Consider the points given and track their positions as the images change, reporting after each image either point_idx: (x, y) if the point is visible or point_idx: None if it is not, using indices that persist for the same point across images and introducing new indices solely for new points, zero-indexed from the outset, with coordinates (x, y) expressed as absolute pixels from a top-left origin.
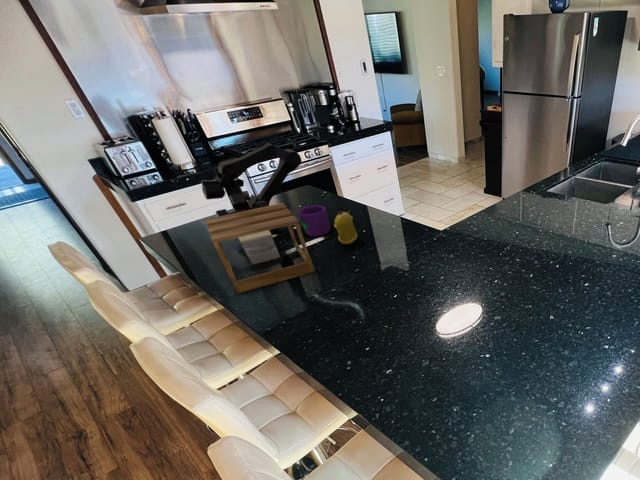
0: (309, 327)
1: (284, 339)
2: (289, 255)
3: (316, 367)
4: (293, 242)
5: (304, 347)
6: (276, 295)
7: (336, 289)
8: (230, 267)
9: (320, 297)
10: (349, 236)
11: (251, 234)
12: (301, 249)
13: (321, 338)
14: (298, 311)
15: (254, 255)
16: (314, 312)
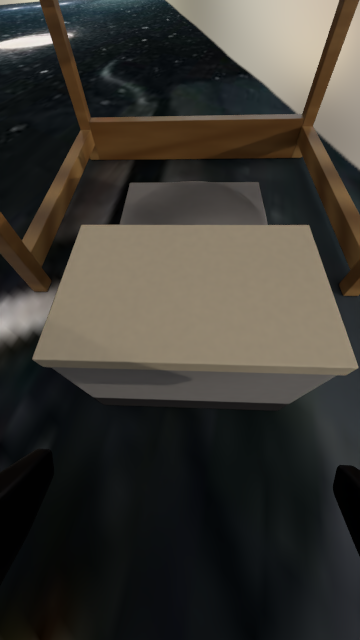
0: (186, 66)
1: (225, 62)
2: None
3: (203, 38)
4: (24, 251)
5: (205, 51)
6: None
7: (100, 102)
8: (340, 200)
9: (138, 96)
10: None
11: (214, 296)
12: (45, 198)
13: (180, 54)
14: (187, 86)
15: (235, 183)
16: (166, 79)
